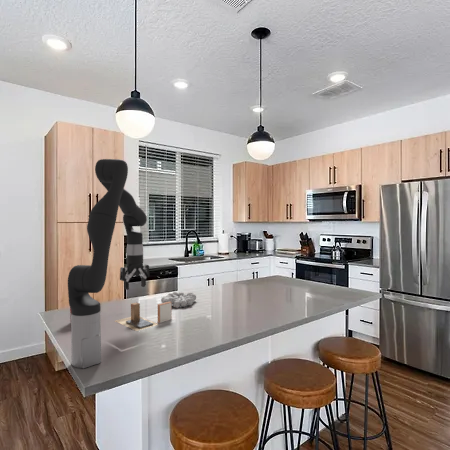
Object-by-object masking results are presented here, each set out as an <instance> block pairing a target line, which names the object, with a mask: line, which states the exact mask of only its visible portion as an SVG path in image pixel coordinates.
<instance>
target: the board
mask: <svg viewBox="0 0 450 450" xmlns="http://www.w3.org/2000/svg"><path fill="white" fill-rule="evenodd" d="M140 318H141V319H144V320H146V321H149V322H151V323H153V325H151V326H148V327H144V328H141V329H139V328H137V327H134V326H132V325H130V324H128V323H126V321H128V320H131V316H129V317H124V318H120V319H117V320H114V322H115V323H116V324H120V325H122V326H123V327H127V328H129V329H131V330H133V331H134V332H135V331H136V332H139V331H141V330H146V329H150V328H153V327H156V326H159V325H160V323H158V322H157V323H156V322H154V321H152V320H149V319H147V318H144V317H142V316H140Z"/></svg>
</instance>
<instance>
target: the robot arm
mask: <svg viewBox="0 0 450 450" xmlns="http://www.w3.org/2000/svg"><path fill="white" fill-rule="evenodd" d="M128 166H129V165H128V164H127V161H126V160H124V159H118V158H114V159H113V158H112V159H111V158H103V159H102V158H100V159H98V160H97V162H96V163H95V166H94V171H95V172H94V173H95V176H96V177H97V180H98V182H99V183H100V184H101V185H102V186H103V187H104V189H105V190H106V191H107V192H106V193H105V194H104V195H103V196H102V197H101V198H100V199H99V200H98V201H97V202H95V203H96V204H94V205H93V207H92V208H91V210H90V213H89V216H88V221H87V224H86V231H87V234H88V238H89V240H90V242H91V244H92V250H93V253H92V254H93V255H92V256H93V257H92V261H91V265H87V264H77V265H75V266H73V267H71V269H70V271H69V273H68V275H67V276H68V277H67V295H68V296H67V297H68V305H69V309H70V308H71V321H70V323H71V324H70V326H71V336H70V339H71V340H70V341H71V345H70V346H71V347H70V348H71V349H70V350H71V365H72V367H74V368H79V369H80V368H81V369H86V368H89V367H92V366H95V365H98V364H101V363H102V336H101V332H102V331H101V329H102V328H101V320H102V319H101V316H102V315H101V312H102V311H101V307H102V306H101V303H100V301H98V300H97V299H94V298H93V297H92V296H91V295H90V294H98V293H100V292H101V291H102V289H103V288H104V286H105V283H106V279H107V273H108V264H109V256H110V250H111V244H112V240H113V235H114V232H115V227H116V223H117V222H116V221H117V217H118V211H119V208H120V211H121V213H122V214H123V215H122V222H123V225H124V228H125V232H126V244H127V245H126V267H121V266H120V269H119V272H120V273H119V281H123V287H124V290H126V291H127V290H130V287H129V286H130V285H129V284H130V280H131V278H132V277H134V276H140V283H141V287H143V288H144V287H146V285H147V283H146V282H147V278H150V276H151V275H150V274H151V273H150V265H149V264H144V245H143V241H144V240H143V239H144V238H143V233H142V231H139V230H138V231H137V230H135V229H134V227H143V226H145V225H146V224H147V222H148V221H147V218H148V217H147V215H146V213H145V211H143V209H142V207H140V206H139V205H138V204H137V203H136V201H135V198H134V196H133V195H132V194H131V193H130V192H129V191H128V190H127V189H125V185H126V182H127V179H128V173H129V167H128ZM143 270H144V271H143Z"/></svg>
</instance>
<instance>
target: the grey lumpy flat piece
mask: <svg viewBox="0 0 450 450" xmlns="http://www.w3.org/2000/svg"><path fill="white" fill-rule="evenodd" d="M196 300H197V295H196V294H194V293H193V292H188V293H184V292H183V291H179V292H177V291H173V292H169V293H168V294H166V295H165V296H163V297H162V298H161V301H160V302H161V303H165V302H172V307H173V308H175V309H178V308H180V307H181V308H185V307H186V306H192V305H193V304H194V302H195V301H196Z"/></svg>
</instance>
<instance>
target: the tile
mask: <svg viewBox="0 0 450 450" xmlns="http://www.w3.org/2000/svg"><path fill="white" fill-rule="evenodd" d="M172 307H173V305H172V302H165V303H162V302H161V303H157V323H158V324H160V323H163V322H167V321H171V320H172V319H173V318H172V316H173V315H172V314H173V313H172Z"/></svg>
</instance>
